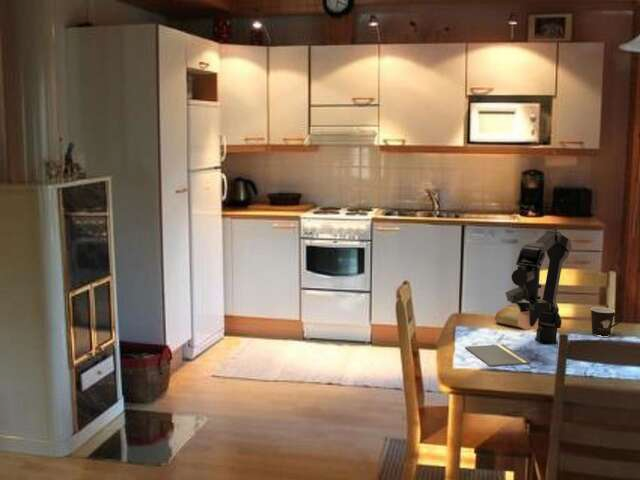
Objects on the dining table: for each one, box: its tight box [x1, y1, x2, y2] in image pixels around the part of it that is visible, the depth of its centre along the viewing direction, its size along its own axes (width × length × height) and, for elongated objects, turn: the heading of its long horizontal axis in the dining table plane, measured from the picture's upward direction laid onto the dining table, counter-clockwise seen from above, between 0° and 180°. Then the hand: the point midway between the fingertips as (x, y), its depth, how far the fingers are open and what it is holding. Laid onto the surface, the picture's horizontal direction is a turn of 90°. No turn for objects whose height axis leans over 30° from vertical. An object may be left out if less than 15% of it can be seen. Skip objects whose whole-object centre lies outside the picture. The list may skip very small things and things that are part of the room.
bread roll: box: [494, 305, 522, 329], centre depth 293 cm, size 10×15×8 cm, turn 56°
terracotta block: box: [518, 311, 538, 330], centre depth 256 cm, size 5×5×5 cm
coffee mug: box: [590, 306, 623, 336], centre depth 282 cm, size 12×9×10 cm
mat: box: [464, 343, 531, 368], centre depth 256 cm, size 15×20×1 cm
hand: (527, 324), depth 257 cm, fingers closed on terracotta block, 5 cm apart
